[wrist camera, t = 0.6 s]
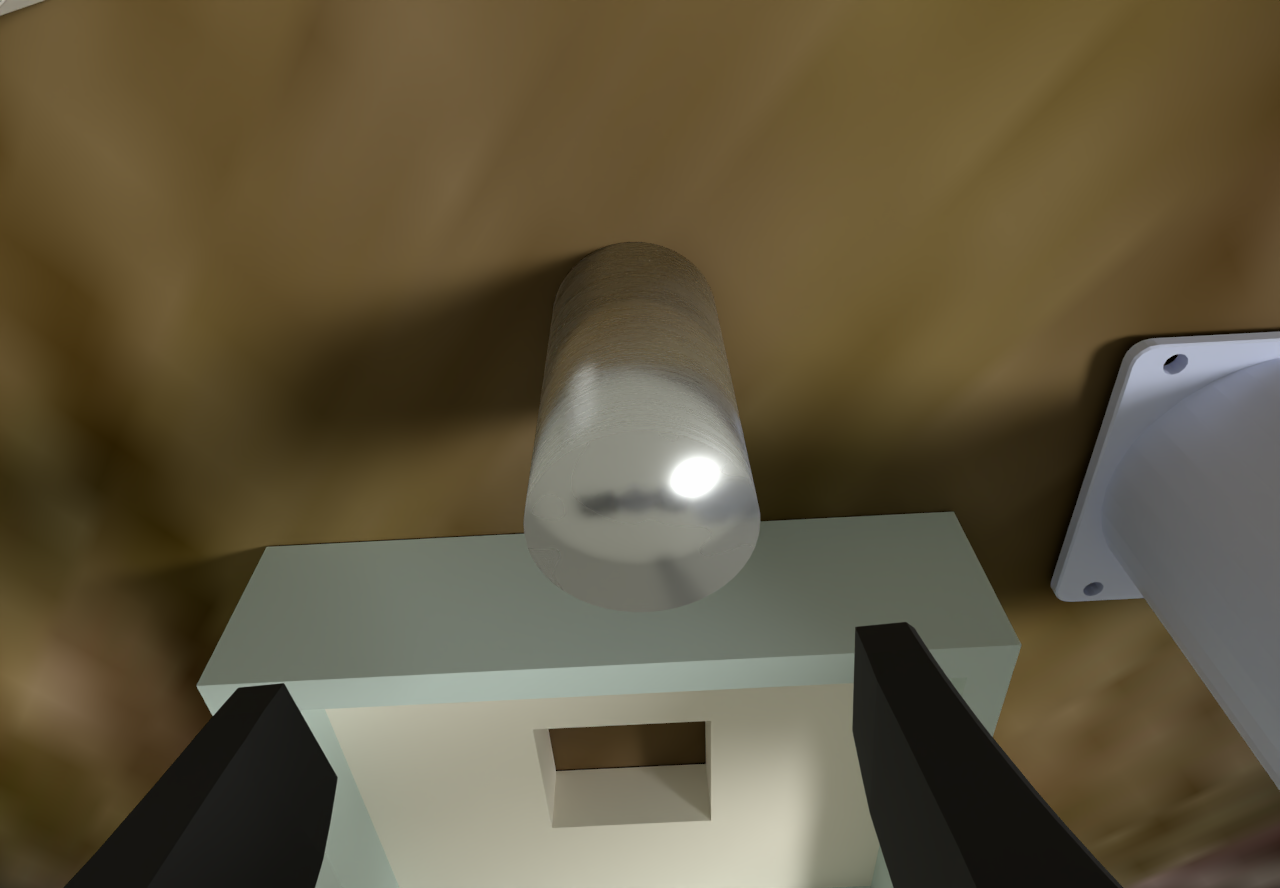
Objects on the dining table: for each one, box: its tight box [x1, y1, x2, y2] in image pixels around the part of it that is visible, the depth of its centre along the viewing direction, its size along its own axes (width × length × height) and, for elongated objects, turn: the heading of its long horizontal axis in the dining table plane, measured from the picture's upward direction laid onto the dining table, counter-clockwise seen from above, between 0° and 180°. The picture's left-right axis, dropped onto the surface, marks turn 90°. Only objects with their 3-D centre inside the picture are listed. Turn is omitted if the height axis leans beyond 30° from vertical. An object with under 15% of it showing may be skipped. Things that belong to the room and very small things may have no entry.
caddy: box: [196, 512, 1021, 888], centre depth 25 cm, size 18×16×4 cm
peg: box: [524, 242, 760, 612], centre depth 16 cm, size 4×4×7 cm
